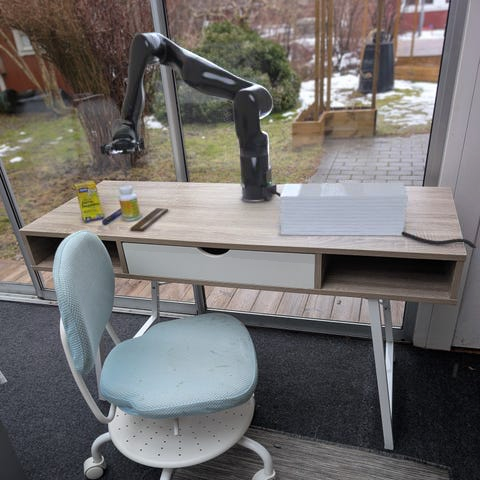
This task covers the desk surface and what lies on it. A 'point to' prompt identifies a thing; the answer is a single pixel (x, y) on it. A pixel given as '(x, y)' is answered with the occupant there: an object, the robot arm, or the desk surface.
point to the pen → (112, 217)
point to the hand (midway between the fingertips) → (122, 151)
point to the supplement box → (89, 201)
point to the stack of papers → (343, 209)
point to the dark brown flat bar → (149, 219)
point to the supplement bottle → (128, 203)
